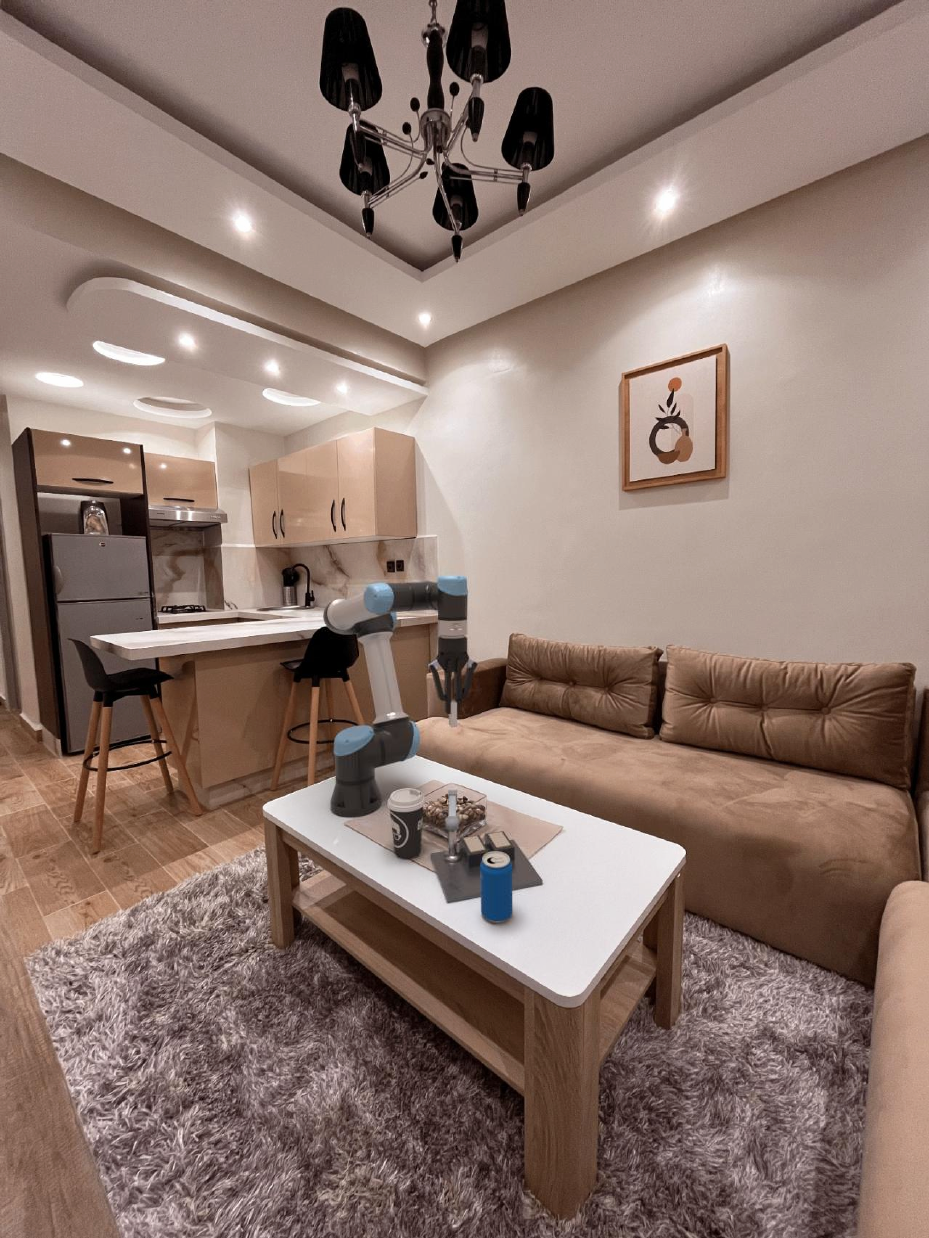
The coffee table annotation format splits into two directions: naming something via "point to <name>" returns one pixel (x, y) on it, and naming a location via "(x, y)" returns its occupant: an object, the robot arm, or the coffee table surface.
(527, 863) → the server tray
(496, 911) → the beverage can
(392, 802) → the coffee cup
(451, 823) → the cable arm
